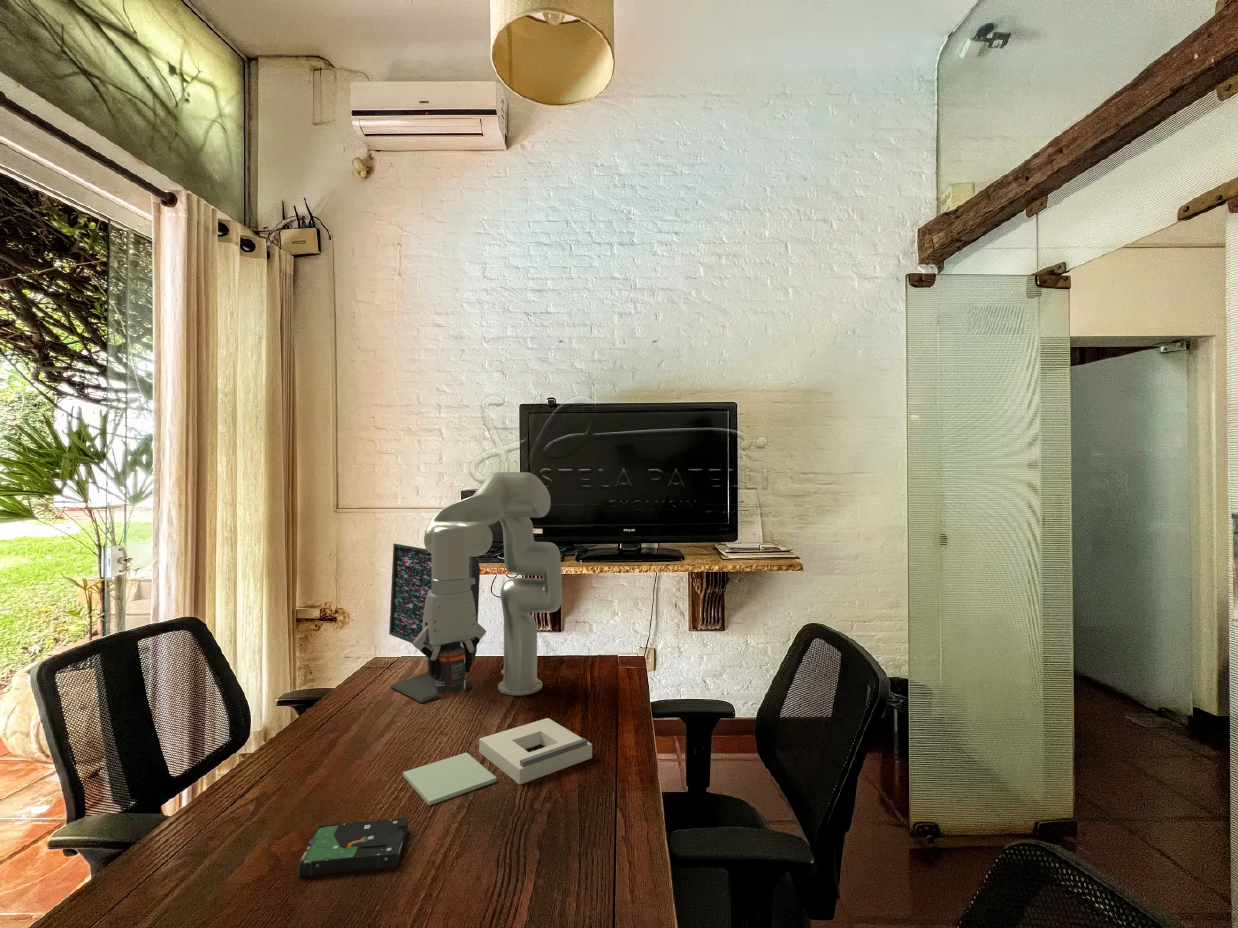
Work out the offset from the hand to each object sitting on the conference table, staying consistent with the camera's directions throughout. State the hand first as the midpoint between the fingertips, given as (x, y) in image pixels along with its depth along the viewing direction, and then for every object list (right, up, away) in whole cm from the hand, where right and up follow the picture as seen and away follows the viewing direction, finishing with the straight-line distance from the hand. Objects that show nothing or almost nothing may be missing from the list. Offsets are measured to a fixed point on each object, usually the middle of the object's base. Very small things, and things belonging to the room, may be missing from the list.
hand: (450, 673), depth 124 cm
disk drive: (-9, -22, -24) cm, 34 cm away
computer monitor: (-20, -22, +51) cm, 59 cm away
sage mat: (0, -21, 0) cm, 21 cm away
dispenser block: (+16, -21, +10) cm, 29 cm away
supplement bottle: (0, -4, 0) cm, 4 cm away
